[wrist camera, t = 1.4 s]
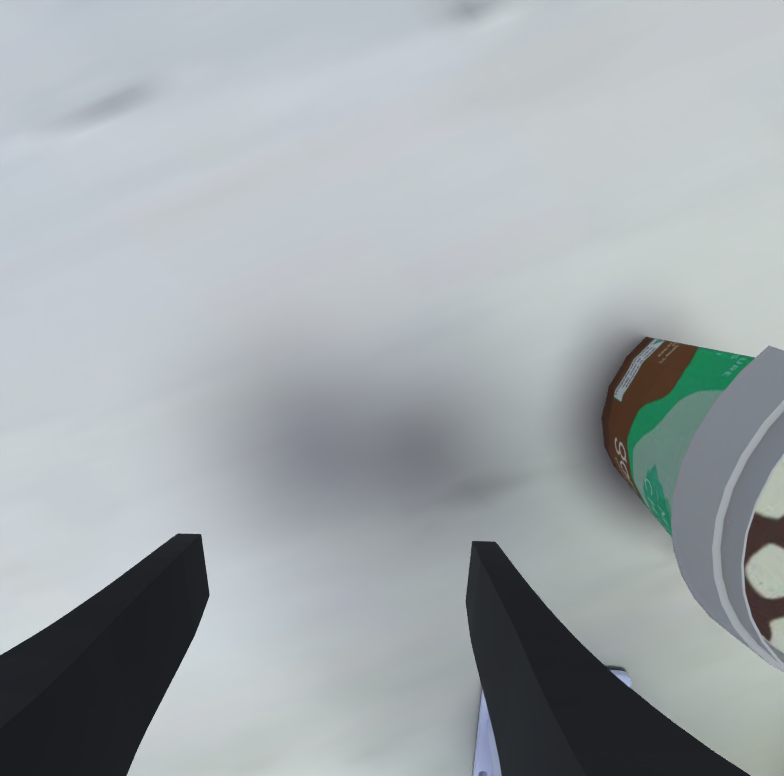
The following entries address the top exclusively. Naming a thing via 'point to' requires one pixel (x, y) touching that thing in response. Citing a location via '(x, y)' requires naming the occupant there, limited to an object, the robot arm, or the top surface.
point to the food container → (710, 474)
